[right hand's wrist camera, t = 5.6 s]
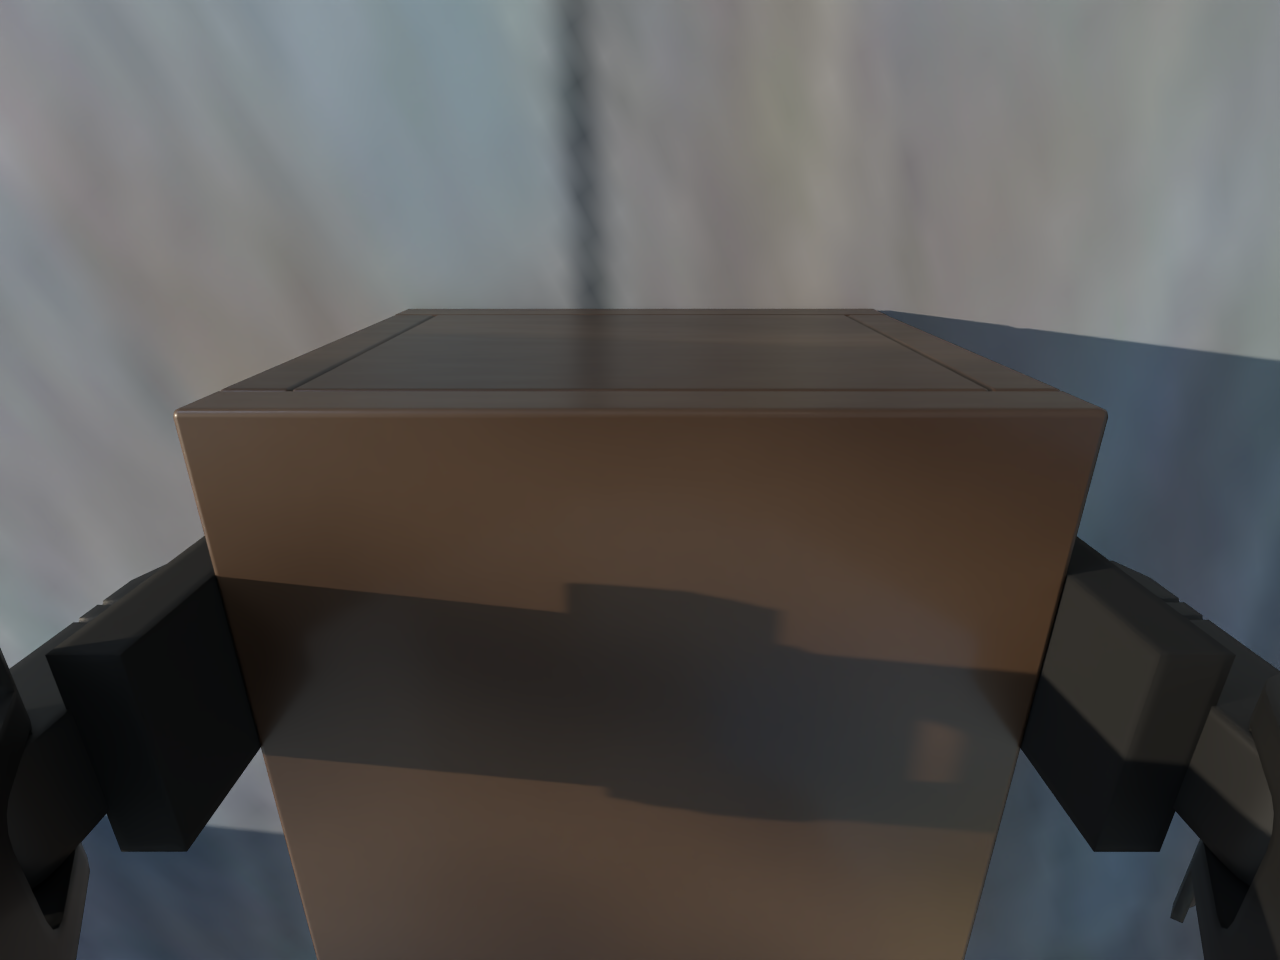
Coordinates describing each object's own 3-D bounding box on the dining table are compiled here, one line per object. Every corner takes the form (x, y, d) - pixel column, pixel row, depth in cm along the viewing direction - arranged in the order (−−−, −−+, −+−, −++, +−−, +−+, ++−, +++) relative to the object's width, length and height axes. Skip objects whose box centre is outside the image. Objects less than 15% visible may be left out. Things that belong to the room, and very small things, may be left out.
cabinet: (794, 951, 23) (870, 1320, 15) (487, 950, 23) (410, 1318, 15) (874, 308, 15) (1114, 409, 7) (407, 308, 15) (167, 410, 7)
